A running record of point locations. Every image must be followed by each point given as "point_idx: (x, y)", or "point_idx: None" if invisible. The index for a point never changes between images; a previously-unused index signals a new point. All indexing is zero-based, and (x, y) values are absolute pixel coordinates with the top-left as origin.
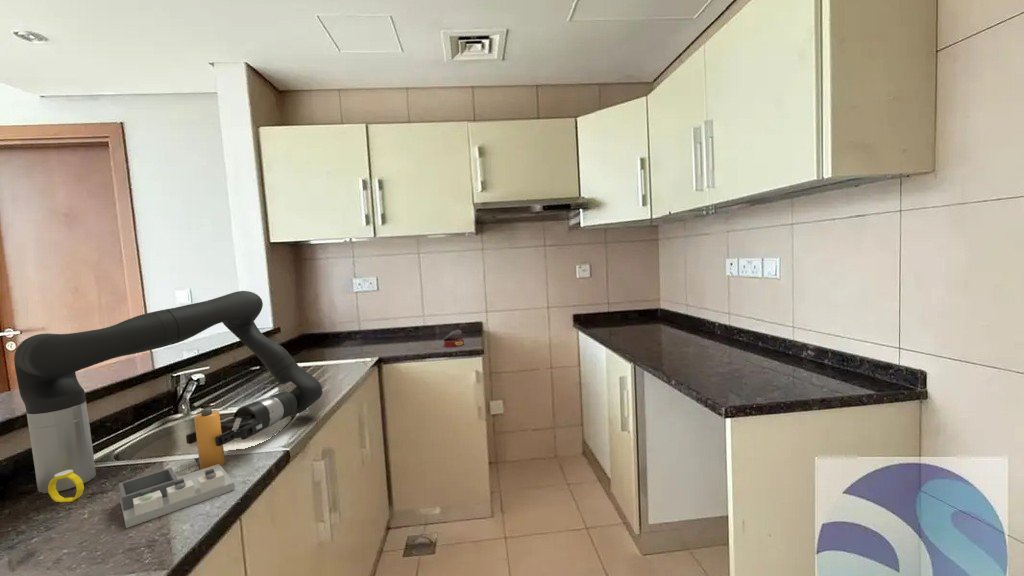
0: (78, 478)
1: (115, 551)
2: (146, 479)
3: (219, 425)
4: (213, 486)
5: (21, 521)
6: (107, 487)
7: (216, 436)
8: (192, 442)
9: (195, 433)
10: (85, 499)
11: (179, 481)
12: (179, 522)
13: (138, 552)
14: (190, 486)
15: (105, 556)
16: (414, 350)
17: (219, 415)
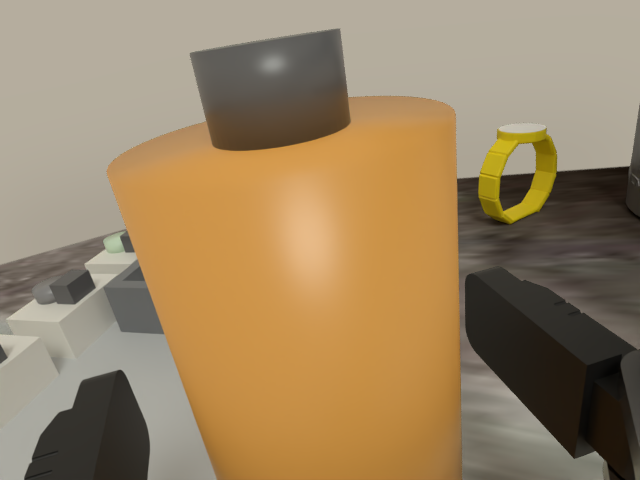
0: (496, 162)
1: (85, 256)
2: None
3: (183, 368)
4: None
5: (458, 185)
6: (542, 259)
7: (118, 373)
8: (483, 355)
9: (512, 316)
10: (478, 232)
11: (61, 278)
12: (6, 329)
13: (22, 274)
14: (17, 313)
15: (92, 249)
16: None
17: (163, 246)
